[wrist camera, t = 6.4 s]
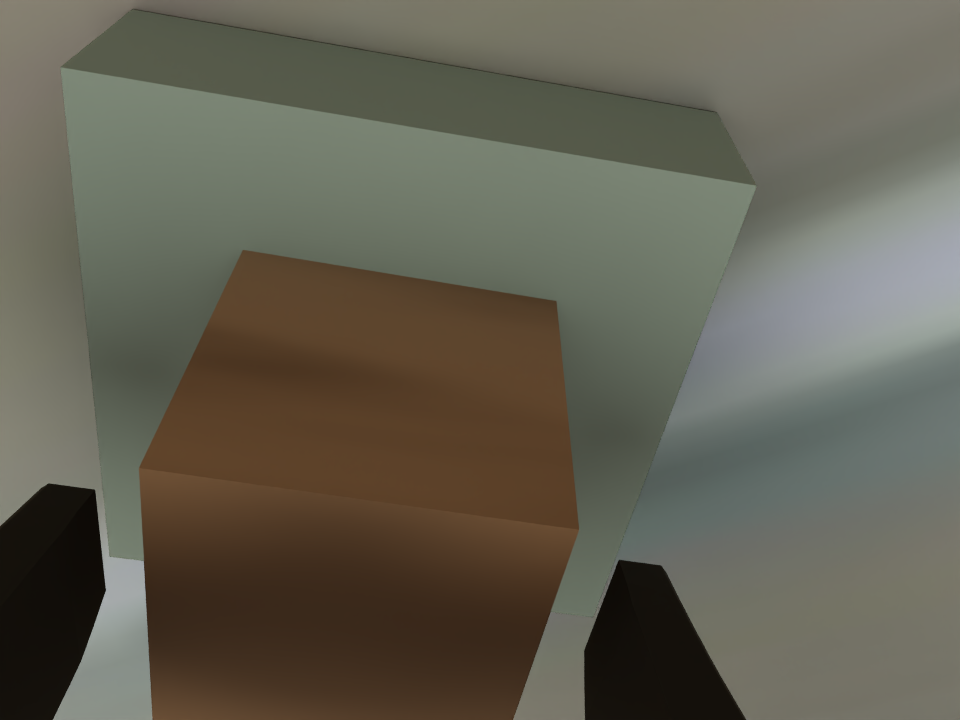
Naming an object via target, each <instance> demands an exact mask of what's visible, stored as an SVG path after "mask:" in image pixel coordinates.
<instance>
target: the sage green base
mask: <svg viewBox="0 0 960 720" xmlns="http://www.w3.org/2000/svg"><path fill="white" fill-rule="evenodd" d="M61 77H62V87H63V97H64V107H65V117H66V127H67V137H68V147H69V157H70V167H71V177H72V187H73V197H74V207H75V217H76V227H77V236H78V246H79V256H80V266H81V276H82V286H83V296H84V306H85V316H86V326H87V336H88V346H89V356H90V366H91V376H92V386H93V396H94V406H95V416H96V426H97V436H98V446H99V456H100V465H101V475H102V485H103V495H104V505H105V515H106V525H107V535H108V545H109V555H110V557H117V558H125V559H133V560H141V561H144V553H143V535H142V517H141V498H140V480H139V467H140V465H141V462H142V460H143V458H144V456H145V454H146V452H147V450H148V448H149V446H150V444H151V441H152V439H153V437H154V435H155V433H156V431H157V429H158V427H159V425H160V423H161V420H162V418H163V416H164V414H165V412H166V410H167V408H168V406H169V404H170V402H171V400H172V397H173V395H174V393H175V391H176V389H177V387H178V385H179V383H180V381H181V379H182V376H183V374H184V372H185V370H186V368H187V366H188V364H189V362H190V360H191V358H192V355H193V353H194V351H195V349H196V347H197V345H198V343H199V341H200V339H201V337H202V335H203V332H204V330H205V328H206V326H207V324H208V322H209V320H210V318H211V316H212V314H213V311H214V309H215V307H216V305H217V303H218V301H219V299H220V297H221V295H222V293H223V290H224V288H225V286H226V284H227V282H228V280H229V278H230V276H231V274H232V272H233V270H234V267H235V265H236V263H237V261H238V259H239V257H240V255H241V253H242V251H243V250H248V251H254V252H260V253H266V254H272V255H278V256H284V257H290V258H296V259H303V260H309V261H315V262H321V263H327V264H333V265H339V266H345V267H351V268H358V269H364V270H370V271H376V272H382V273H388V274H394V275H400V276H406V277H413V278H419V279H425V280H431V281H437V282H443V283H449V284H455V285H461V286H468V287H474V288H480V289H486V290H492V291H498V292H504V293H510V294H516V295H523V296H529V297H535V298H541V299H547V300H553V301H557V311H558V321H559V331H560V341H561V351H562V361H563V372H564V382H565V392H566V402H567V412H568V422H569V432H570V442H571V452H572V462H573V472H574V482H575V492H576V502H577V512H578V523H579V532H578V535H577V538H576V541H575V543H574V546H573V549H572V552H571V555H570V558H569V561H568V563H567V566H566V569H565V572H564V575H563V578H562V581H561V584H560V586H559V589H558V592H557V595H556V598H555V601H554V604H553V606H552V609H551V612H555V613H562V614H570V615H578V616H586V617H593V616H594V613H595V611H596V608H597V605H598V603H599V600H600V598H601V595H602V592H603V590H604V587H605V584H606V582H607V579H608V577H609V574H610V571H611V569H612V566H613V563H614V561H615V558H616V555H617V553H618V550H619V548H620V545H621V542H622V540H623V537H624V534H625V532H626V529H627V527H628V524H629V521H630V519H631V516H632V513H633V511H634V508H635V505H636V503H637V500H638V498H639V495H640V492H641V490H642V487H643V484H644V482H645V479H646V477H647V474H648V471H649V469H650V466H651V463H652V461H653V458H654V455H655V453H656V450H657V448H658V445H659V442H660V440H661V437H662V434H663V432H664V429H665V427H666V424H667V421H668V419H669V416H670V413H671V411H672V408H673V405H674V403H675V400H676V398H677V395H678V392H679V390H680V387H681V384H682V382H683V379H684V377H685V374H686V371H687V369H688V366H689V363H690V361H691V358H692V355H693V353H694V350H695V348H696V345H697V342H698V340H699V337H700V334H701V332H702V329H703V326H704V324H705V321H706V319H707V316H708V313H709V311H710V308H711V305H712V303H713V300H714V298H715V295H716V292H717V290H718V287H719V284H720V282H721V279H722V276H723V274H724V271H725V269H726V266H727V263H728V261H729V258H730V255H731V253H732V250H733V248H734V245H735V242H736V240H737V237H738V234H739V232H740V229H741V226H742V224H743V221H744V219H745V216H746V213H747V211H748V208H749V205H750V203H751V200H752V198H753V195H754V192H755V190H756V187H757V185H756V183H755V181H754V180H753V178H752V176H751V174H750V172H749V171H748V169H747V167H746V165H745V163H744V161H743V160H742V158H741V156H740V154H739V152H738V150H737V149H736V147H735V145H734V143H733V141H732V140H731V138H730V136H729V134H728V132H727V130H726V129H725V127H724V125H723V123H722V121H721V119H720V118H719V116H718V114H717V113H716V112H710V111H704V110H699V109H693V108H687V107H682V106H676V105H670V104H665V103H659V102H654V101H648V100H642V99H637V98H631V97H625V96H620V95H614V94H608V93H603V92H597V91H591V90H586V89H580V88H574V87H569V86H563V85H557V84H552V83H546V82H540V81H535V80H529V79H523V78H518V77H512V76H507V75H501V74H495V73H490V72H484V71H478V70H473V69H467V68H461V67H456V66H450V65H444V64H439V63H433V62H427V61H422V60H416V59H410V58H405V57H399V56H393V55H388V54H382V53H376V52H371V51H365V50H360V49H354V48H348V47H343V46H337V45H331V44H326V43H320V42H314V41H309V40H303V39H297V38H292V37H286V36H280V35H275V34H269V33H263V32H258V31H252V30H246V29H241V28H235V27H229V26H224V25H218V24H213V23H207V22H201V21H196V20H190V19H184V18H179V17H173V16H167V15H162V14H156V13H150V12H145V11H139V10H133V9H132V10H131V11H130V12H128V13H127V14H126V15H125V16H123V17H122V18H121V19H120V20H119V21H117V22H116V23H115V24H114V25H112V26H111V27H110V28H109V29H107V30H106V31H105V32H104V33H102V34H101V35H100V36H99V37H97V38H96V39H95V40H94V41H92V42H91V43H90V44H89V45H87V46H86V47H85V48H84V49H83V50H81V51H80V52H79V53H78V54H76V55H75V56H74V57H73V58H71V59H70V60H69V61H68V62H66V63H65V64H64V65H63V66H61Z"/></svg>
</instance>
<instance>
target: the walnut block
mask: <svg viewBox="0 0 960 720" xmlns="http://www.w3.org/2000/svg"><path fill="white" fill-rule="evenodd" d="M139 480H140V498H141V517H142V535H143V553H144V571H145V589H146V607H147V625H148V643H149V661H150V680H151V698H152V716H153V720H513V718H514V715H515V712H516V710H517V707H518V704H519V701H520V698H521V695H522V692H523V689H524V687H525V684H526V681H527V678H528V675H529V672H530V669H531V667H532V664H533V661H534V658H535V655H536V652H537V649H538V647H539V644H540V641H541V638H542V635H543V632H544V629H545V626H546V624H547V621H548V618H549V615H550V612H551V609H552V606H553V604H554V601H555V598H556V595H557V592H558V589H559V586H560V584H561V581H562V578H563V575H564V572H565V569H566V566H567V563H568V561H569V558H570V555H571V552H572V549H573V546H574V543H575V541H576V538H577V535H578V532H579V523H578V512H577V502H576V492H575V482H574V472H573V462H572V452H571V442H570V432H569V422H568V412H567V402H566V392H565V382H564V372H563V361H562V351H561V341H560V331H559V321H558V311H557V301H553V300H547V299H541V298H535V297H529V296H523V295H516V294H510V293H504V292H498V291H492V290H486V289H480V288H474V287H468V286H461V285H455V284H449V283H443V282H437V281H431V280H425V279H419V278H413V277H406V276H400V275H394V274H388V273H382V272H376V271H370V270H364V269H358V268H351V267H345V266H339V265H333V264H327V263H321V262H315V261H309V260H303V259H296V258H290V257H284V256H278V255H272V254H266V253H260V252H254V251H248V250H243V251H242V253H241V255H240V257H239V259H238V261H237V263H236V265H235V267H234V270H233V272H232V274H231V276H230V278H229V280H228V282H227V284H226V286H225V288H224V290H223V293H222V295H221V297H220V299H219V301H218V303H217V305H216V307H215V309H214V311H213V314H212V316H211V318H210V320H209V322H208V324H207V326H206V328H205V330H204V332H203V335H202V337H201V339H200V341H199V343H198V345H197V347H196V349H195V351H194V353H193V355H192V358H191V360H190V362H189V364H188V366H187V368H186V370H185V372H184V374H183V376H182V379H181V381H180V383H179V385H178V387H177V389H176V391H175V393H174V395H173V397H172V400H171V402H170V404H169V406H168V408H167V410H166V412H165V414H164V416H163V418H162V420H161V423H160V425H159V427H158V429H157V431H156V433H155V435H154V437H153V439H152V441H151V444H150V446H149V448H148V450H147V452H146V454H145V456H144V458H143V460H142V462H141V465H140V467H139Z"/></svg>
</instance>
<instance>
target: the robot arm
mask: <svg viewBox="0 0 960 720" xmlns="http://www.w3.org/2000/svg"><path fill="white" fill-rule="evenodd" d="M105 591H106V588H105V579H104V569H103V560H102V550H101V541H100V531H99V522H98V513H97V503H96V494H95V490H94V489H86V488H79V487H71V486H64V485H56V484H47V485H46V486H44V487H42V488H41V489H40V490H39V491H38V492H37V493H36V494H34V495H33V496H32V497H31V498H30V499H29V500H28V501H27V502H26V503H25V504H24V505H23V506H22V507H20V508H19V509H18V510H17V511H16V512H15V513H14V514H13V515H12V516H11V517H10V518H9V519H8V520H7V521H5V522H4V523H3V524H2V525H1V526H0V720H53V718H54V716H55V714H56V712H57V710H58V708H59V706H60V704H61V702H62V700H63V698H64V696H65V693H66V691H67V689H68V687H69V685H70V683H71V681H72V679H73V677H74V675H75V673H76V671H77V669H78V666H79V664H80V662H81V660H82V657H83V654H84V651H85V649H86V646H87V643H88V640H89V638H90V635H91V632H92V629H93V626H94V623H95V621H96V618H97V615H98V612H99V609H100V606H101V603H102V600H103V597H104V594H105ZM584 690H585V720H746V719H745V717H744V715H743V714H742V712H741V710H740V708H739V707H738V705H737V703H736V702H735V700H734V698H733V696H732V695H731V693H730V691H729V690H728V688H727V686H726V684H725V683H724V681H723V679H722V678H721V676H720V674H719V672H718V671H717V669H716V667H715V665H714V663H713V662H712V660H711V658H710V656H709V654H708V653H707V651H706V649H705V647H704V645H703V643H702V641H701V639H700V638H699V636H698V634H697V632H696V630H695V628H694V626H693V624H692V623H691V621H690V619H689V617H688V615H687V613H686V611H685V609H684V607H683V605H682V603H681V601H680V599H679V597H678V595H677V593H676V591H675V589H674V587H673V585H672V583H671V581H670V579H669V577H668V575H667V573H666V572H665V570H664V569H663V567H662V566H660V565H653V564H646V563H638V562H631V561H623V560H619V561H618V564H617V566H616V569H615V572H614V574H613V577H612V579H611V582H610V585H609V587H608V590H607V592H606V595H605V598H604V600H603V603H602V606H601V608H600V611H599V613H598V616H597V619H596V621H595V624H594V626H593V629H592V632H591V634H590V637H589V640H588V642H587V645H586V647H585V650H584Z"/></svg>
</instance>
